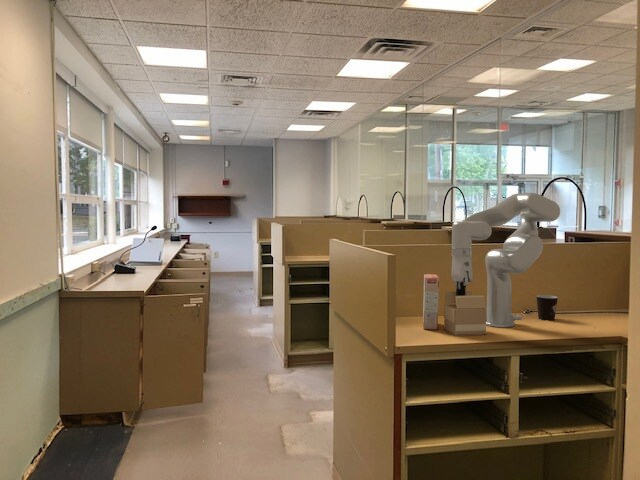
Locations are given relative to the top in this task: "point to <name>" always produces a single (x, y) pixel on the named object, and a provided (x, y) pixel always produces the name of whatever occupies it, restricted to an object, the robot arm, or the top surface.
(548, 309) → the coffee mug
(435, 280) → the cracker box
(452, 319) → the carton
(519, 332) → the top surface
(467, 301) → the near flap
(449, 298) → the far flap
